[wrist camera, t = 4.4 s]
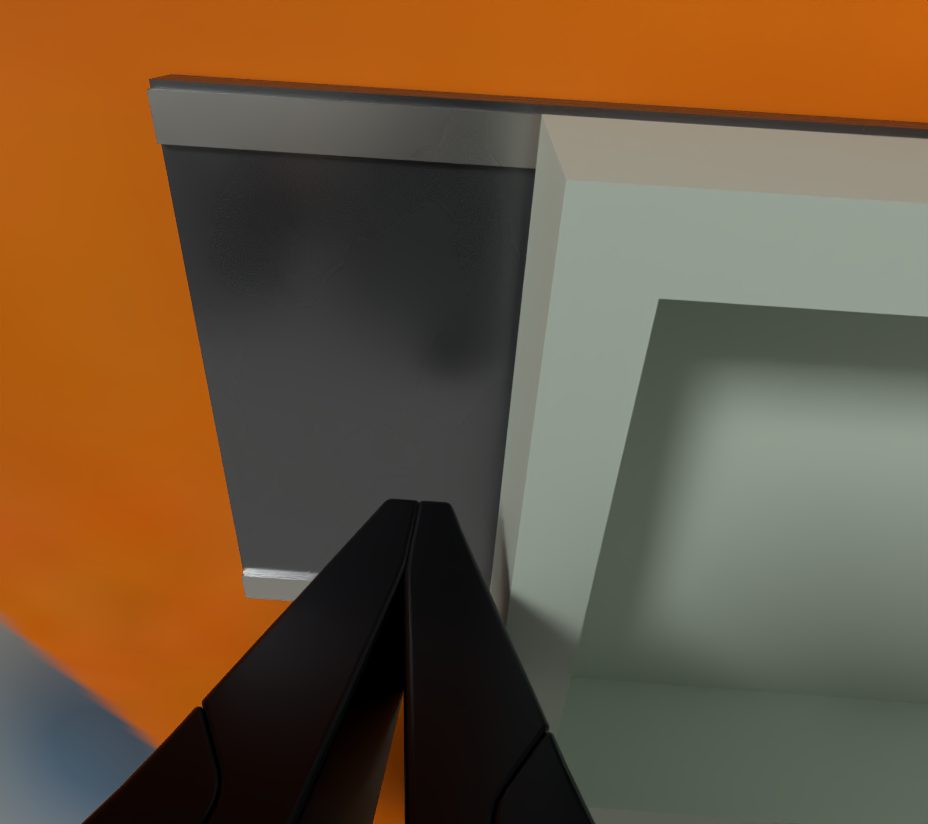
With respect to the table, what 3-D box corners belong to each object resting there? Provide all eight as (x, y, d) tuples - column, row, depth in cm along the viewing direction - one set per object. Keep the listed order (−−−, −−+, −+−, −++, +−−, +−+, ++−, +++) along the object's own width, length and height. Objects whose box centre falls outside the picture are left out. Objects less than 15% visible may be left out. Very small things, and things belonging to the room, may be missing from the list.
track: (1256, 647, 13) (1292, 678, 12) (258, 573, 13) (246, 600, 12) (1788, 178, 8) (1894, 192, 7) (170, 74, 8) (144, 79, 7)
